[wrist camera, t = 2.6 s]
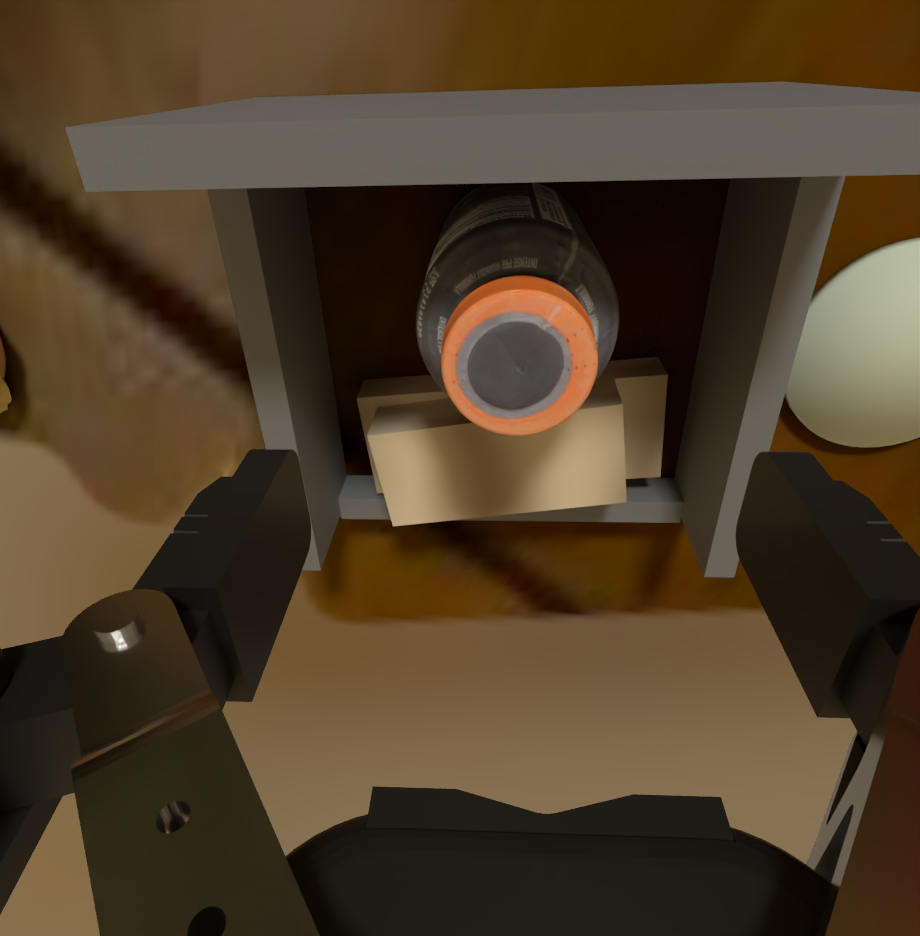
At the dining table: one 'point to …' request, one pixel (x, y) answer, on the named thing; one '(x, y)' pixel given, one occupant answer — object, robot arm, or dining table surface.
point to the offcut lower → (633, 377)
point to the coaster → (862, 352)
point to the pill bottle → (516, 309)
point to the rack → (522, 161)
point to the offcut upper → (497, 461)
